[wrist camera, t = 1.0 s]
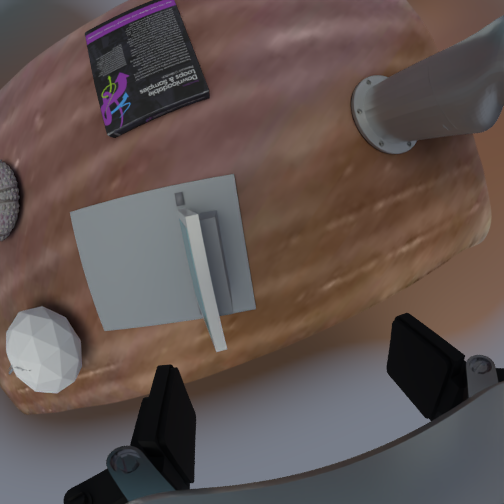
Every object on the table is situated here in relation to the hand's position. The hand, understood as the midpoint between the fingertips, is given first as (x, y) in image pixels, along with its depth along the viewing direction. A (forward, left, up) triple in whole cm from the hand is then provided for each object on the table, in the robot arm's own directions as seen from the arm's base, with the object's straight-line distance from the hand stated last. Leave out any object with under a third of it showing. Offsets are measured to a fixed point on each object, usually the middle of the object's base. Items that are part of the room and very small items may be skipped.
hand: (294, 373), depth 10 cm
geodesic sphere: (+33, +9, -27) cm, 43 cm away
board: (+11, 0, -27) cm, 29 cm away
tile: (+5, 0, -19) cm, 19 cm away
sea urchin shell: (+39, -15, -27) cm, 49 cm away
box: (+10, -28, -27) cm, 40 cm away
